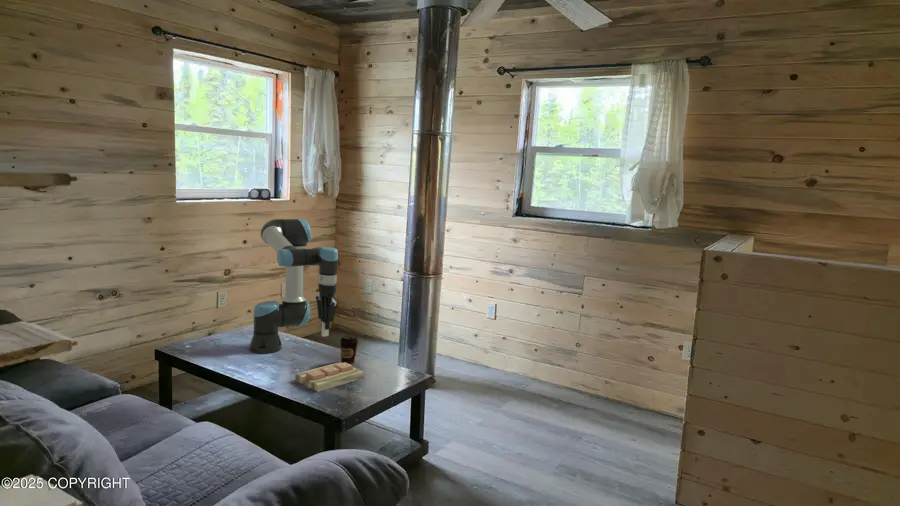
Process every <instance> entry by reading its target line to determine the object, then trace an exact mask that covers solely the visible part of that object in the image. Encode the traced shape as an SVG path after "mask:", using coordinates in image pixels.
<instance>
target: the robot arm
mask: <svg viewBox="0 0 900 506" xmlns="http://www.w3.org/2000/svg"><path fill="white" fill-rule="evenodd" d="M260 237H261V239H262V241H263V242H264V243H265V244H266V245H269V246H270V247H271V248H272V250H273V251H274V252H275V253H276V261H277V264H278V266H280V267H285V293H284V294H285V296H284V298H282V300H281V303H279V301H277V300H267V301H262V302H259V303H257V304H256V305H255V306H254V307H253V334H252V338H251V340H250V343H249V351H250V352H252V353H256V354H273V353H277V352H279V351H281V350H282V345H283V344H282V340H281V338H280V335H279V328H286V327H299V326H304V325H306V324H307V323H308V322H309V320H310V315H311V307H310V303H309V302H307V298H305V297H304V267H314V266H315V267H316V266H318V267H319V269H318V270H319V271H318V285H317V286H318V289H317V291H318V293H319V295H317V296H315V299H316V300H315V301H316V308H317V317H318V320H320V321H321V337H329V336H330V335H329V331H330V324H331V322H333V321H334V319H335V315H336V310H337V306H338V304H339V302H338V301H336V300H335V294H336V293H337V283H338V282H337V281H338V280H337V279H338V262H339V253H338V251H339V250H338V249H337V248H336V247H330V246H329V247H327V246H324V247H320V246H314V247H313V248H307V247H308V243H310V242H311V240H312V230H311V227H310V224H309V222H308V221H307V220H305V219H299V218H293V219H292V218H287V219H286V218H285V219H284V218H276V219H270V220H269V221H267V222H265V224H264V225H263V226H262V227H261V230H260Z"/></svg>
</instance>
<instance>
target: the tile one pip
mask: <svg viewBox="0 0 900 506" xmlns="http://www.w3.org/2000/svg"><path fill="white" fill-rule="evenodd" d="M306 377H307V378H309V379H311V380H313V381H315V380H319V379H322V378H325V373H323V372H321V371H319V370H314V371H310V372H306Z"/></svg>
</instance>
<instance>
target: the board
mask: <svg viewBox="0 0 900 506" xmlns="http://www.w3.org/2000/svg"><path fill="white" fill-rule="evenodd" d="M340 363H342V362H341V361H339V362H336V363H331V364H328V365H324V366H321V367H316V368H313V369H309V370H305V371H302V372H298V373H295V378H294V379H295V382H297V383H300V384H302V385H304V386H305V387H306V388H307V387H308V388H310V389H311V390H313V391H315V392H317V393H319V392H322V391H326V390H328V389H332V388H335V387H338V386H341V385H345V384H349V383H352V382H354V381H358V380H361V379H364V372H363V371H362V370H360V369H358V368H356V367H353V370H350V371H347V372H343V373H342V372H340V371H339V374H336V375H333V376H329V377H328V376H326V375H325V378H322V379H319V380H315V381H313V380H311V379H309V378H307V377H306V372H310V371H314V370H319V371H321V368H325V367H329V366H333V367H335V365H336V364H340Z"/></svg>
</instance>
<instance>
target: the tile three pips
mask: <svg viewBox="0 0 900 506" xmlns="http://www.w3.org/2000/svg"><path fill="white" fill-rule="evenodd" d="M335 368H337V369H339V371H340V372H342V373H343V372H347V371H350V370H353V368H354V366H353V364H352V365H350V364H348V363H346V362H344V363H340V364H336V365H335Z"/></svg>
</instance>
